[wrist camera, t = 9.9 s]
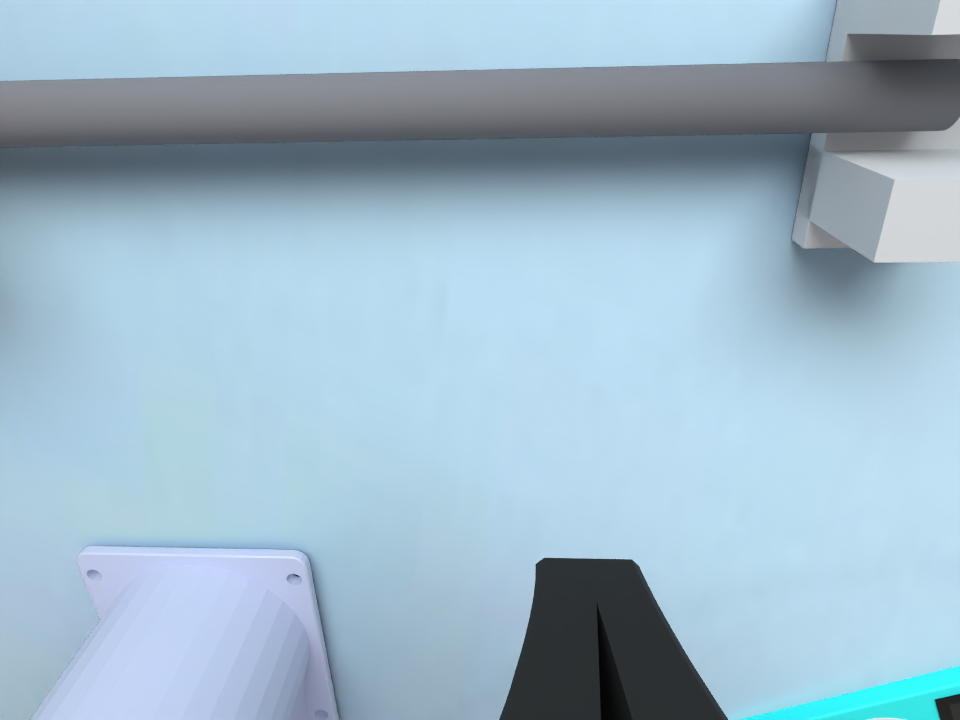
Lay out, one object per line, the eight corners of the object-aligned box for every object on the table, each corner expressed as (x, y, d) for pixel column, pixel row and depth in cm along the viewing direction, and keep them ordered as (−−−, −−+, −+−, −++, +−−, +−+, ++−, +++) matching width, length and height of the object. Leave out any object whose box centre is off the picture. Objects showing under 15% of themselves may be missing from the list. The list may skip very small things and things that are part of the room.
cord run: (1006, -96, 13) (1182, -141, 10) (913, 238, 17) (1021, 295, 13) (-586, -39, 16) (-915, -58, 12) (-401, 249, 19) (-618, 301, 15)
